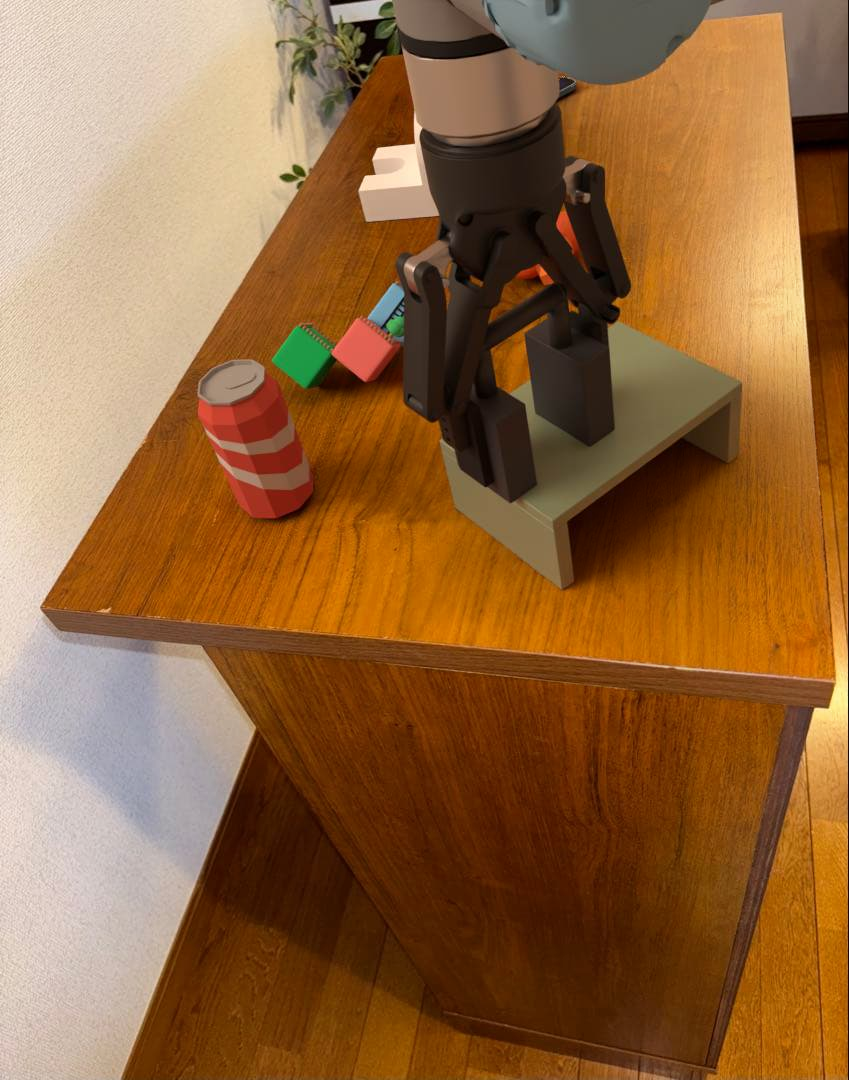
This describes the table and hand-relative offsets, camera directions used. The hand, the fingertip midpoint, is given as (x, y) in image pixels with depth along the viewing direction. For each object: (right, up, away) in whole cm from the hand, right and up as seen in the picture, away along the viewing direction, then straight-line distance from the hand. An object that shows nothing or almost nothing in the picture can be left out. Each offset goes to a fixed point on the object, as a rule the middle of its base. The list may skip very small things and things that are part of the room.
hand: (534, 435), depth 67 cm
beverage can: (-19, -4, +13) cm, 24 cm away
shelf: (+5, -3, +7) cm, 10 cm away
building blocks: (-13, +9, +24) cm, 28 cm away
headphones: (0, -1, +1) cm, 1 cm away
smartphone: (+4, +46, +54) cm, 72 cm away
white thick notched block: (-4, +31, +43) cm, 53 cm away
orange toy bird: (+4, +18, +28) cm, 34 cm away
